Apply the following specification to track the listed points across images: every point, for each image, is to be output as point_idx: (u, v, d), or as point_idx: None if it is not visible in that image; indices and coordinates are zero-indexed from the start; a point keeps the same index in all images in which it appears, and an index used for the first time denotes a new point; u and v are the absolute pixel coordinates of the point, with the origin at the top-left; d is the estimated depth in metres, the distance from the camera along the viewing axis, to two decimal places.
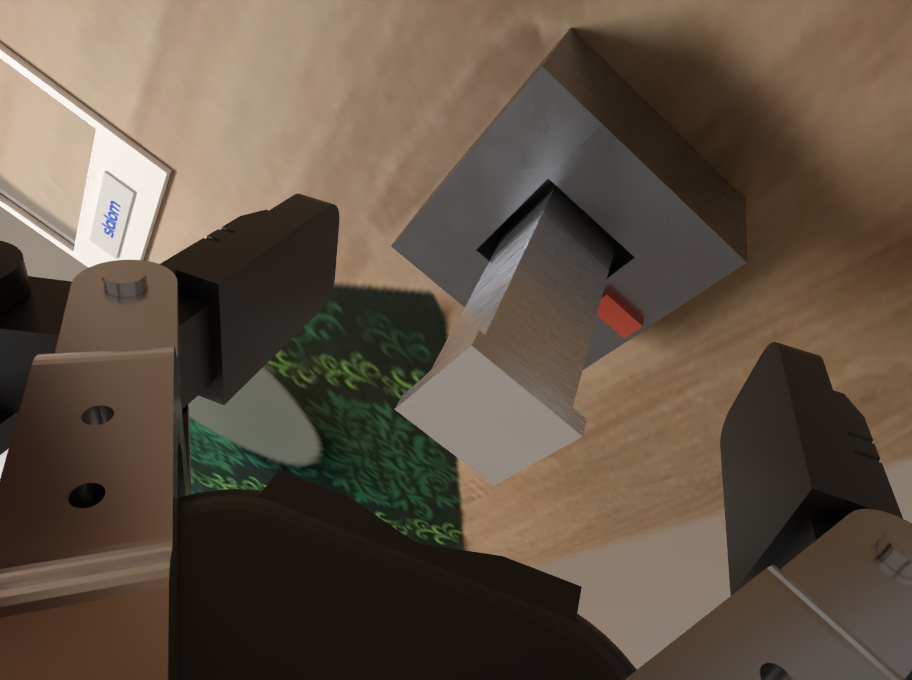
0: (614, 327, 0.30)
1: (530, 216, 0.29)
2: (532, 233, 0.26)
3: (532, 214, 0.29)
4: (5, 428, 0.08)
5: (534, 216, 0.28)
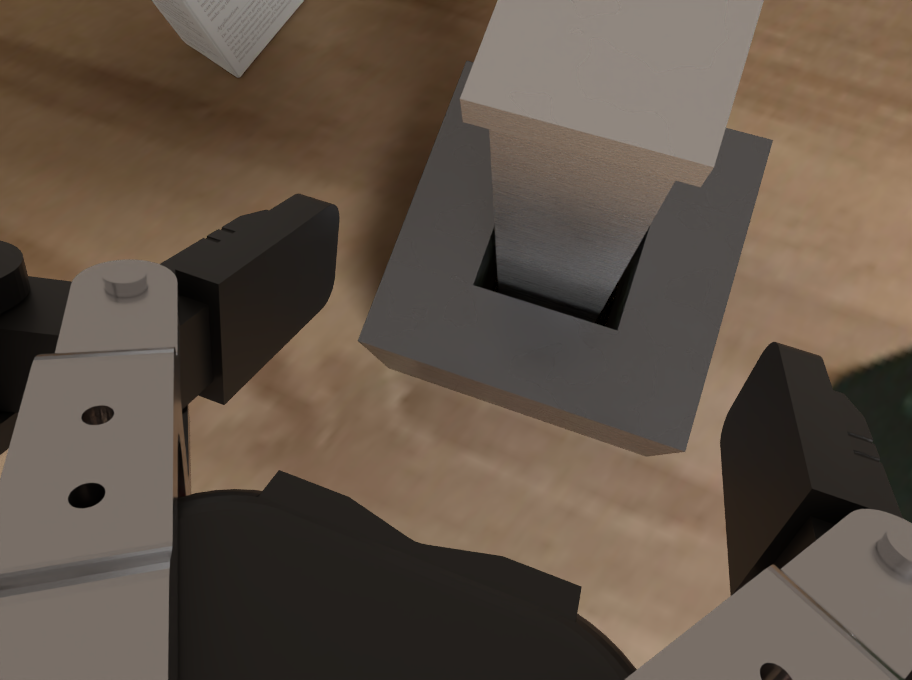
0: None
1: (531, 284, 0.23)
2: (497, 243, 0.20)
3: (527, 283, 0.23)
4: (5, 428, 0.08)
5: (518, 274, 0.22)
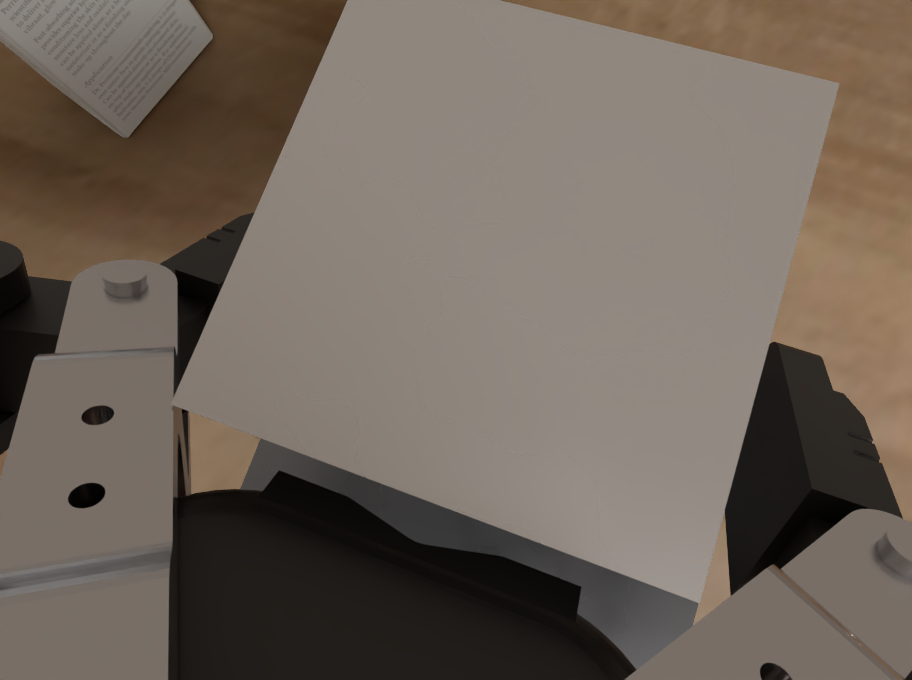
0: None
1: None
2: None
3: None
4: (5, 428, 0.08)
5: None
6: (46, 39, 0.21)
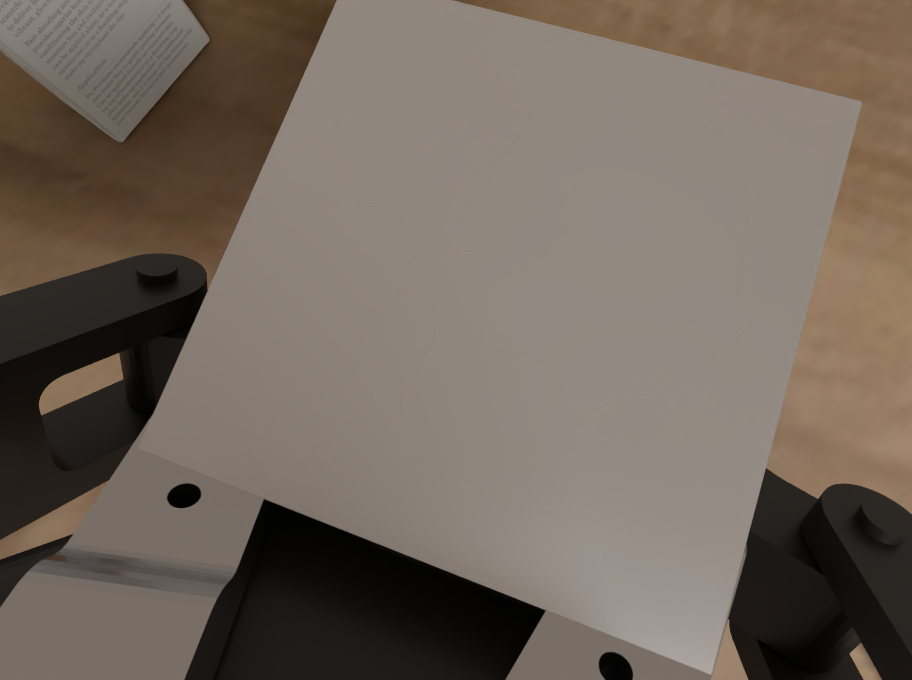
0: None
1: None
2: None
3: None
4: None
5: None
6: (38, 43, 0.21)
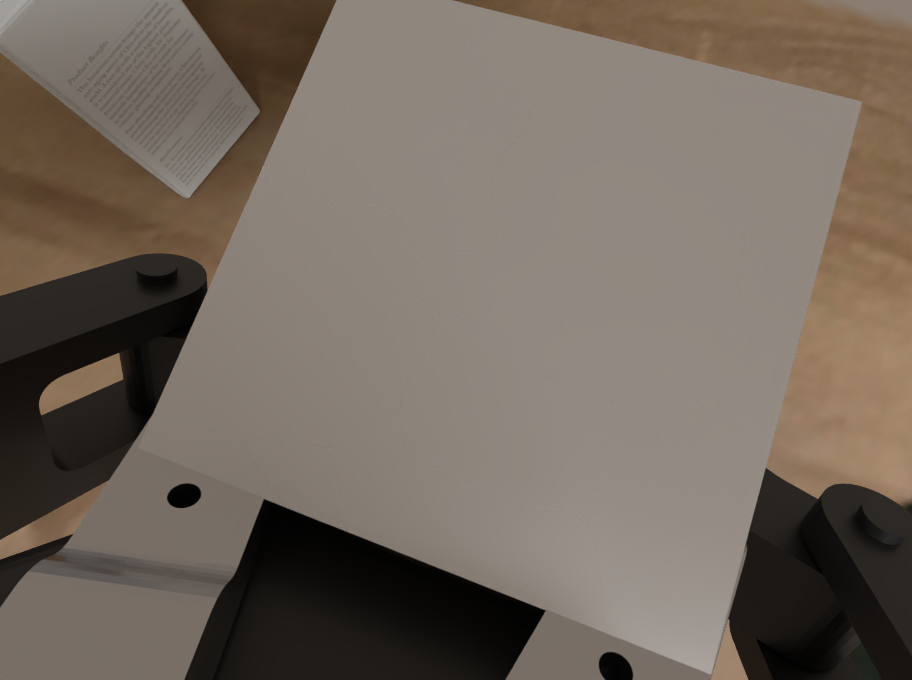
0: None
1: None
2: None
3: None
4: None
5: None
6: (134, 130, 0.26)
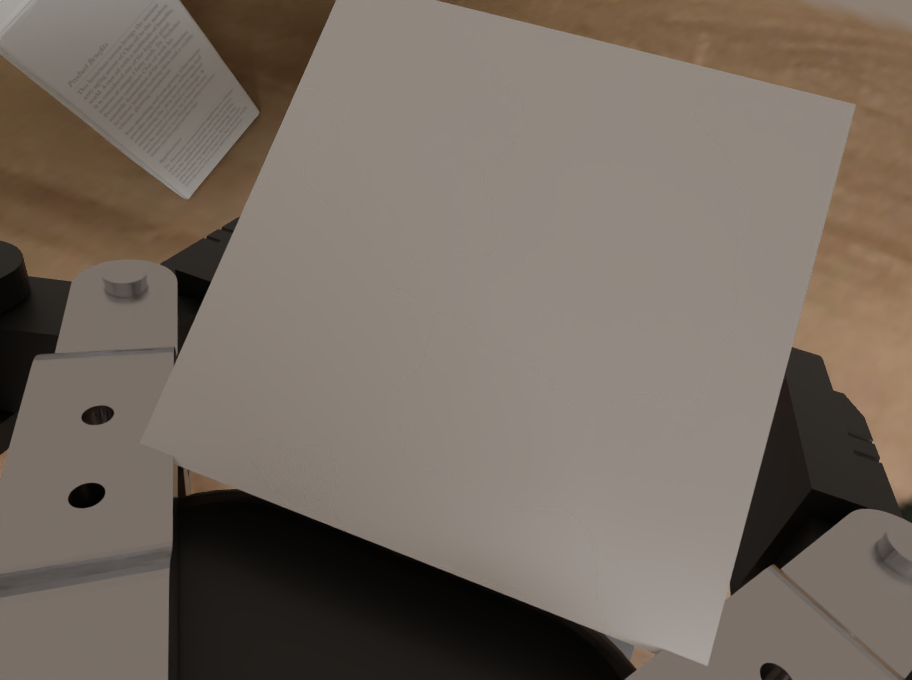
0: None
1: None
2: None
3: None
4: (5, 428, 0.08)
5: None
6: (134, 132, 0.26)
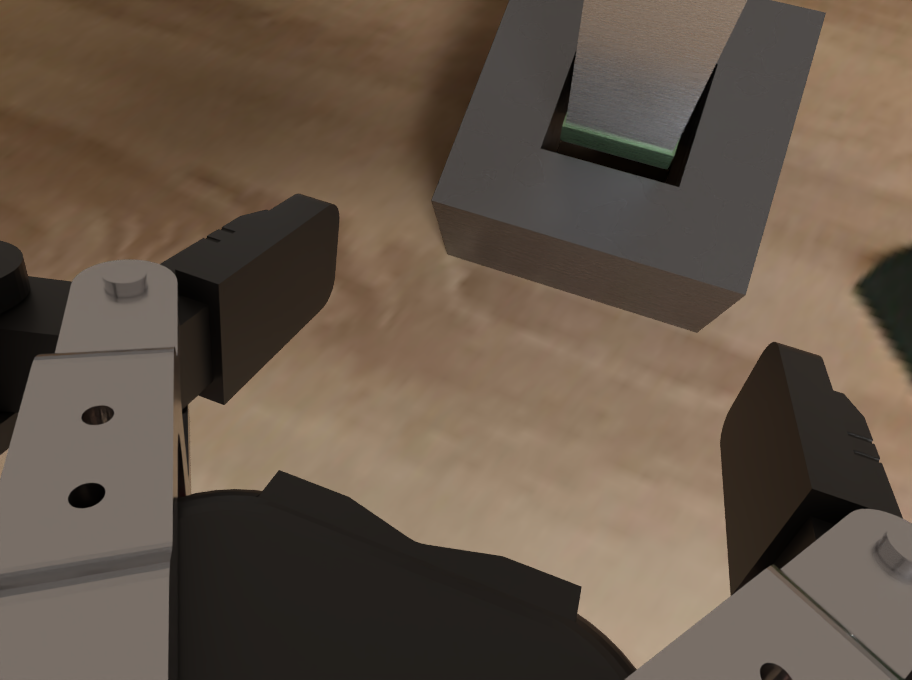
0: None
1: (619, 53, 0.19)
2: None
3: (614, 52, 0.19)
4: (5, 428, 0.08)
5: (606, 34, 0.18)
6: None
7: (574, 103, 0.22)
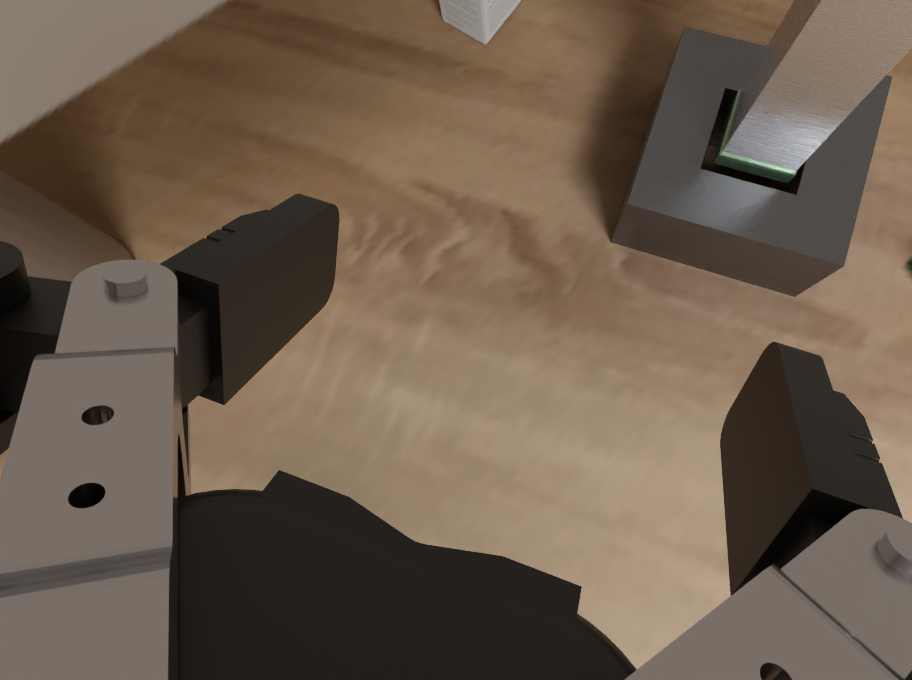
0: None
1: (778, 114, 0.30)
2: (779, 66, 0.27)
3: (775, 113, 0.30)
4: (5, 428, 0.08)
5: (773, 103, 0.30)
6: None
7: (733, 141, 0.33)
